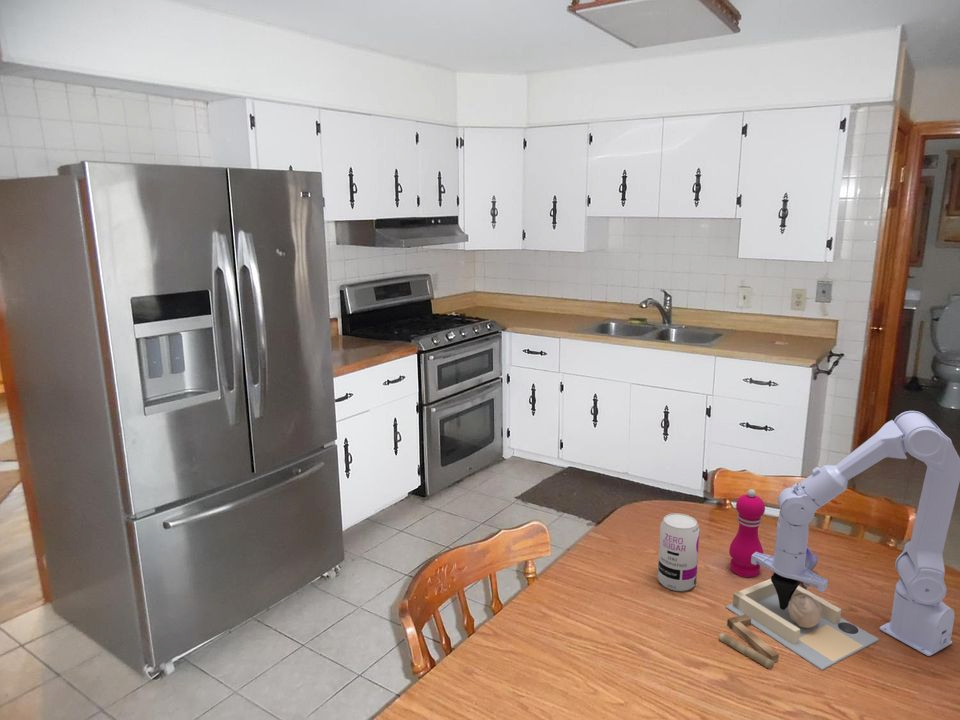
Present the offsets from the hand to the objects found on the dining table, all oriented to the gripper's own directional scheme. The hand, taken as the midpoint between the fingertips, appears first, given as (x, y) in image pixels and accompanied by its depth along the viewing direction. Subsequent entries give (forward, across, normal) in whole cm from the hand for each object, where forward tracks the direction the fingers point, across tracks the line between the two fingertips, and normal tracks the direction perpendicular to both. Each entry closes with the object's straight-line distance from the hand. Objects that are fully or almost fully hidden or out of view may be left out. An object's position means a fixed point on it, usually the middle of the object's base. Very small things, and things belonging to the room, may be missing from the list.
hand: (784, 607), depth 138 cm
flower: (+2, +4, -16) cm, 16 cm away
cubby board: (+2, -4, +1) cm, 4 cm away
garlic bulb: (+1, -4, +1) cm, 5 cm away
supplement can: (+2, +21, +6) cm, 22 cm away
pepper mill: (+2, +14, -10) cm, 17 cm away
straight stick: (+1, -1, +16) cm, 16 cm away
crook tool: (+2, -1, +12) cm, 12 cm away
